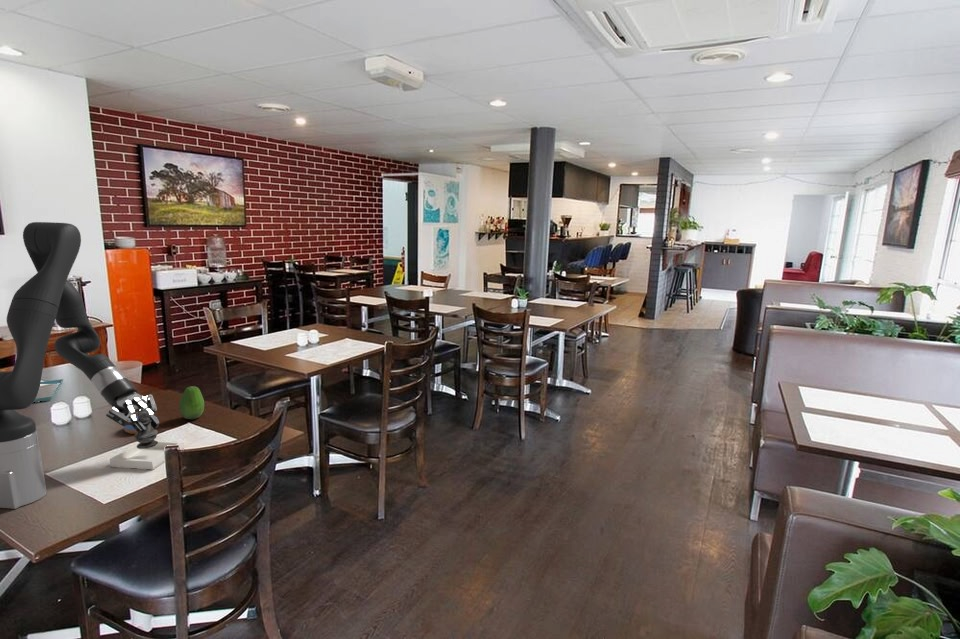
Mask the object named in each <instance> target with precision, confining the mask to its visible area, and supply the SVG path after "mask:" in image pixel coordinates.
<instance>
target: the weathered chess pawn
mask: <svg viewBox="0 0 960 639" xmlns="http://www.w3.org/2000/svg"><path fill="white" fill-rule="evenodd" d="M137 416H138V420H139V421H140V422H141V423H142V424H143V425H144V426H145V428H146V429H147V431H146V432H145V433H144V434H140V433H136V434H133V437H134V438H135V440H136V442H138V443H139V444H138V445H137V448H139V449H146V448H151V447H153V446H155V445H157V444H158V441H159V440H157V441H155V439H157V436H158V433H159V432H158V430H157V429H152V427H151V421H152V420H151V419H150V415H149V411H148V410H147V409H144V407H142V408H141V409H140V411H138V413H137Z"/></svg>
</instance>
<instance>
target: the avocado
mask: <svg viewBox="0 0 960 639" xmlns="http://www.w3.org/2000/svg"><path fill="white" fill-rule="evenodd" d="M178 407H179V412H180V414H181V416H182V417H183V418H184V419H187V420H196V419H198V418H199V417H201V416H202V414H203V413H204V409H205V400H204V397H203V394H202V392H201V390H200V388H199V387H197V386H195V385H194V386H188V387H186V388H185V390H184V391H183V393H182V395H181V398H180V401H179V406H178Z"/></svg>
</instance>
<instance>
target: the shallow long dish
mask: <svg viewBox="0 0 960 639" xmlns="http://www.w3.org/2000/svg"><path fill="white" fill-rule="evenodd" d="M63 381H64V379H63V378H61V379H53V380H45V381H41V382H40V384H57V383H60V384H59V385H58V387H57V388H56V390H55V391H54V393H53V394H52V396H50V397H42V398H36V399H35V400H34V402H38V401H46V402H51V400H52V399H53V398H54V396H55V395H56V393H57V392H58V390H59V389H60V387H61V386H60V385H62V384H63ZM58 388H59V389H58ZM56 391H57V392H56ZM54 394H55V395H54ZM52 397H53V398H52Z"/></svg>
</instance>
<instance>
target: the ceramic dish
mask: <svg viewBox="0 0 960 639" xmlns="http://www.w3.org/2000/svg"><path fill="white" fill-rule="evenodd" d="M154 440H155V439H154ZM155 441H158V444H157V445H155V446H153V447H151V448H146V449H139V448H137V445H138V444H139V442H138V443H136V444H133V446H131V447H129V448H127V449H125V450H123V451H122V452H119V453H118V454H116V455H114V456H113V457H110V458H109V465H110V468H114V467H117V468H118V469H130V468H137V469H136V470H146V469H151V470H150V471H154V470H155V469H157V468H158V467H160V466H161V465H163V464H164V447H165V446H167V445H179V446H180V448H181V449H184V450H185V445H184V444H185V443H184V441H172V440H170V441H169V440H157V439H156V440H155ZM117 468H116V469H117Z"/></svg>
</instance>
